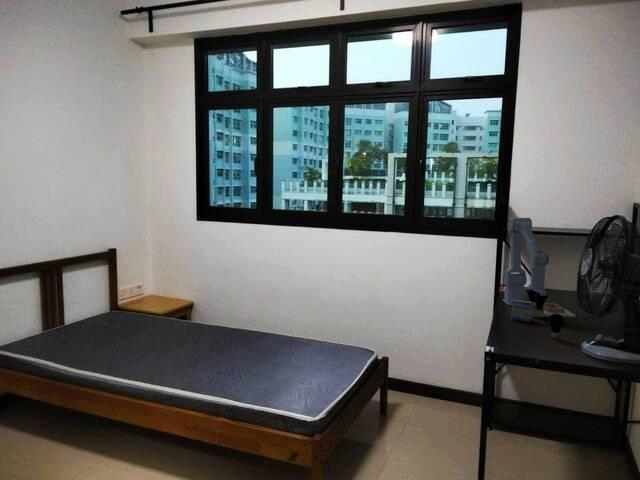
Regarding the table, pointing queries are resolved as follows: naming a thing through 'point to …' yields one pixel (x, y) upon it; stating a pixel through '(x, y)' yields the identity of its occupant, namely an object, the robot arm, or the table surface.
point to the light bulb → (556, 324)
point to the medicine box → (521, 310)
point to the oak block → (536, 311)
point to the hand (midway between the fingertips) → (535, 307)
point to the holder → (556, 310)
